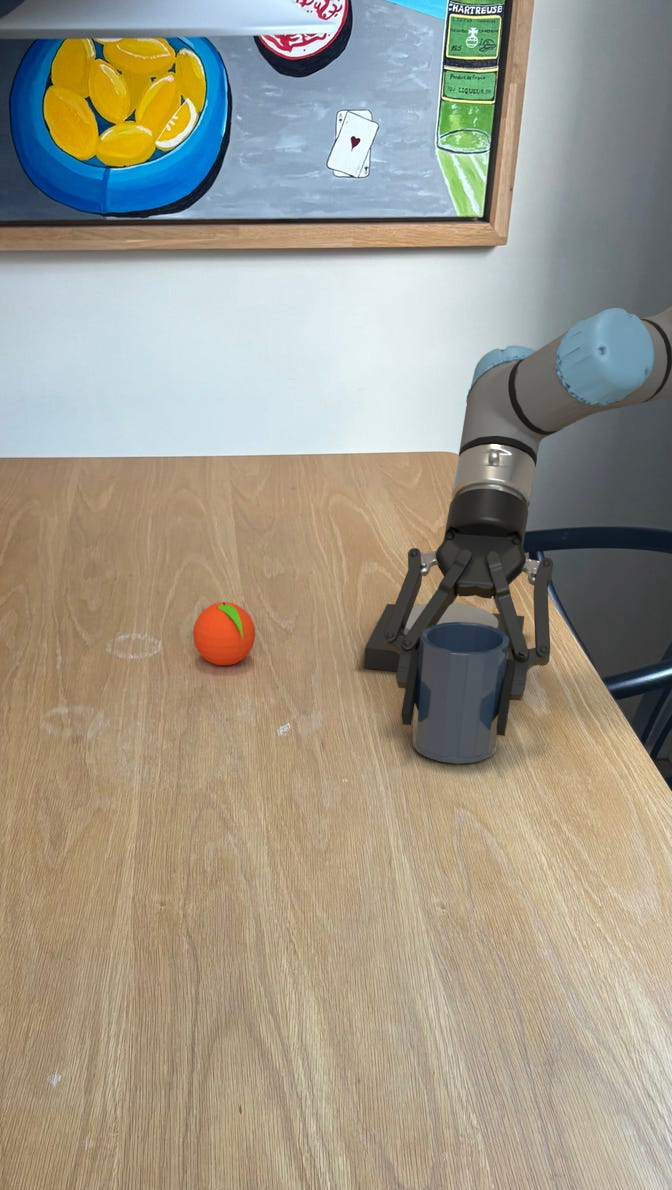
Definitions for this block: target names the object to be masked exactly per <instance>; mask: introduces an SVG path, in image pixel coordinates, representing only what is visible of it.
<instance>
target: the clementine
mask: <svg viewBox="0 0 672 1190" xmlns="http://www.w3.org/2000/svg"><path fill="white" fill-rule="evenodd" d="M192 636H193V643H194V646H195V648H196V650H197V652H198V653H199V655H201V657H202V658H203V659H204V660H205V661H207V662H209V663H211V664H212V665H217V666H231V665H235V664H237V663H239V662H241V661H242V660H244V659H245V658H246V657H247V656H248V655H249V654H250V652H251V650H252V648H253V646H254V643H255V639H256V629H255V625H254V622H253V619H252V617H251V615H250V614H249V613H248V612H247V611H246V609H244V608H242V607H241V606H239V605H238V604H235V603H233V602H229V601H228V602H227V601H220V602H216V603H213V604H210V605H209V606H208V607H206V608H205V609H203V610H202V611H201V612H200V614H199V615H198V616H197V618H196V620H195V623H194V625H193V630H192Z"/></svg>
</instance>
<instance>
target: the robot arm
mask: <svg viewBox="0 0 672 1190" xmlns="http://www.w3.org/2000/svg"><path fill="white" fill-rule="evenodd" d="M668 398H672V305H671V306H669V307H667V308H666V309H665V310H664V311H662V312H660V313H657V314H656V315H655V314H654V315H652V316H646V317H640V318H639V316H638V315H636V314H634V313H628V312H627V311H626V310H625V309H624V308H621V307H620V308H619V307H613V308H607V309H604V310H602V311H600V312H598V313H597V314H595V315H593V316H591V317H589V318H584V319H582V320H580V321H578V322H576V323H575V324H574V326H572V327H570V328H569V329H568V330H567V331H565V332H564V333H563V334H561V335H559V336H557V337H556V338H555V339H553V340H551V341H550V342H548V343H546V344H545V345H543V346H542V347H540V348H539V349H537V350H535V349H533V348H530V347H527V346H522V345H508V346H506V347H505V348H503V349H502V348H494V349H493V350H490V351H488V352H487V353H485V354H484V355H483V356H482V357H481V358H480V359H479V360H478V362H477V363H476V365H475V368H474V372H473V376H472V380H471V384H470V387H469V389H468V391H467V395H466V402H465V403H466V406H465V413H464V419H463V426H462V434H461V438H460V445H459V451H458V458H457V463H456V468H455V473H454V478H453V485H452V489H451V490H452V491H451V501H450V503H449V507H448V513H447V519H446V524H445V530H444V536H443V539H442V542H441V544H440V545H439V546H438V548H437V549H436V550H435V551H422V552H421V550H420V549H419V548H418V547H412V548H410V549H409V550H408V552H407V571H406V574H405V577H404V579H403V583H402V585H401V587H400V590H399V593H398V596H397V598H396V601H395V603H394V604H395V606H394V609H393V611H392V614H391V617H390V619H389V622H388V625H387V627H386V630H385V633H384V640H385V645H386V648H387V650H389V651H395V652H397V653H399V654H400V658H399V663H398V669H397V672H396V675H395V679H396V683H397V688H398V689H405V690H404V696H403V702H402V706H401V712H400V717H401V721H402V725H403V726H404V725H405V726H412V723H413V717H414V707H415V695H416V683H417V670H418V657H419V645H420V636H421V634H422V631H423V630H425V629H427V628H428V627H430V626H433V625H436V624H437V623H438V621H439V620H440V619H441V617H442V616H443V614H444V613H445V611H446V610H447V608H448V607H449V605H451V604H452V603H455V601H456V599H457V598H458V597H466V598H467V597H474V596H475V597H479V598H482V599H489V600H491V599H492V598H493V600H494V604H495V607H496V609H497V613H498V614H499V615H500V618H501V621H502V624H503V628H504V631H505V634H506V635H507V636H508V637H509V639H510V642H509V647H510V650H511V653H512V656H513V660H511V659H507V663H506V670H505V675H504V682H503V688H502V694H501V701H500V707H499V713H498V720H497V735H498V736H502V737H505V736H506V730H507V724H508V717H509V711H510V704H511V701H519V702H521V701H522V699H523V698H524V695H525V690H526V683H527V676H528V672H529V670H530V668H533V667H535V666H536V667H537V666H541V667H544V666H546V665H547V666H548V664H549V662H550V655H551V633H550V631H551V630H550V609H549V590H548V589H549V586H550V583H551V580H552V577H553V569H554V561H553V560H552V558H549V557H545V558H542V559H541V560H536V559H532V558H528V557H527V555H526V553H525V551H524V542H525V535H526V531H527V523H528V518H529V509H528V508H529V507H530V504H531V499H532V495H533V488H534V481H535V477H536V468H537V463H538V453H539V448H540V444H541V442H542V440H543V439H545V438H547V437H549V436H551V435H553V434H556V433H558V432H560V431H562V430H563V429H565V428H566V427H569V426H571V425H572V424H575V423H576V422H579V421H581V420H582V419H584V418H587V417H589V416H592V415H595V414H597V413H602V412H606V411H612V410H615V409H620V408H624V407H630V406H634V405H639V404H643V403H648V402H653V401H659V400H664V399H668ZM434 566H437V568H438V569H439V570H440V572H441V574H442V579H441V580H440V582H439V585H438V587H437V589H436V591H435V592H434V593H433V595H432V597H431V598H430V599H429V601H428V602H427V603H426V604H427V605H426V607H425V608H424V610H423V611H422V613H421V614H420V616H419V617H418V618H417V620H416V621H415V623H414V624H413V626H412V627H411V629H410V630H409V632H408V633H407V635H406V636H405V637H403V636H402V635H403V632H404V629H405V627H406V624H407V621H408V619H409V616H410V613H411V611H412V608H413V606H415V603H416V600H417V598H418V594H419V593H420V589H421V586H422V582H423V577H426V576H428V575H429V574H430V571H431V569H432V567H434ZM522 573H525V575H527V582H528V584H530V585H531V586H533V597H532V599H533V600H532V601H533V622H534V623H533V624H534V625H533V627H534V646H535V647H532V648H531V647H530V648H528V645H527V641H526V638H525V634H524V631H523V632H522V629H521V626H520V623H519V619H518V616H519V615H518V614H517V610H516V607H515V604H514V601H513V598H512V595H511V594H512V593H511V589H510V585H511V584H512V583H513V582H514V580H516V579H517V578H518V577H519V576H520V575H521V574H522Z"/></svg>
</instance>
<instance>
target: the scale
mask: <svg viewBox="0 0 672 1190" xmlns="http://www.w3.org/2000/svg"><path fill="white" fill-rule="evenodd" d="M427 604H428V603H423V604H419V605H413V608H412V611H411V613H410V616H409V619H408V621H407V624H406V627H405V629H404V632H403V635H402V636H403V637H405V636H406V635H407V633H408V632H409V630H410V629H411V627H412V626H413V624H414V623H415V621H416V620H417V618H418V617H419V616H420V614H421V613H422V611H423V610H424V608H425V607H426V605H427ZM394 606H395V603H394V604H393V603H387V604H386V605H385V607H384V609H383V611H382V613H381V615H380V617H379V619H378V621H377V623H376V625H375V626H374V629H373V630H372V633H371V635H370V637H369V639H368V641H367V642H366V645H365V647H364V658H363V669H369V670H378V671H386V672H387V671H388V672H396V673H397V669H398V663H399V658H400V654H399V653H397V652H395V651H389V650H387V648H386V645H385V640H384V633H385V630H386V627H387V625H388V622H389V619H390V617H391V614H392V611H393V609H394ZM517 616H518V619H519V623H520V626H521V629H522V632H523V633H524V626H525V625H524V624H525V615H517ZM447 622H470V623H480V624H484V625H488V626H492V627H495V628H497V629H499V630H501V631H503V632H504V633H505V631H504V628H503V624H502V621H501V618H500V615H499V613H493V612H490V611H488V610H486V609H483V608H482V607H481V608H480V607H477V606H474V605H469V604H466V603H465V604H464V603H457V602H453V603H452V604H451V605H449V607H448V608H447V610H446V611H445V613H444V614H443V616H442V617H441V619H440V620H439V621H438V623H437V624H441V623H447ZM437 624H436V625H437ZM507 659H511V660H513V656H512V653H511V650H510V647H509V650H508V658H507Z"/></svg>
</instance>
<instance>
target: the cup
mask: <svg viewBox="0 0 672 1190" xmlns="http://www.w3.org/2000/svg"><path fill="white" fill-rule="evenodd" d="M509 642H510V639H509V637H508V636H507V635H506V634H505V633H504V632H503V631H501V630H499V629H497V628H495V627H492V626H488V625H484V624H480V623H470V622H447V623H441V624H437V625H433V626H430V627H428V628H427V629H425V630H423V631H422V634H421V636H420V645H419V657H418V670H417V683H416V695H415V705H414V710H413V719H412V735H411V739H412V740H411V743H412V746H413V748H414V750H415V751H416V752H417V753H419V754H420V755H422V756H424V757H425V758H428V759H431V760H434V761H437V762H442V763H448V764H471V763H472V764H473V763H476V762H480V761H481V762H482V761H484V760H486V759H488V758H490V757H491V756H493V755H494V753H495V752H496V751H497V744H498V740H499V735H497V720H498V713H499V707H500V701H501V694H502V688H503V682H504V675H505V670H506V663H507V658H508V650H509Z"/></svg>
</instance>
